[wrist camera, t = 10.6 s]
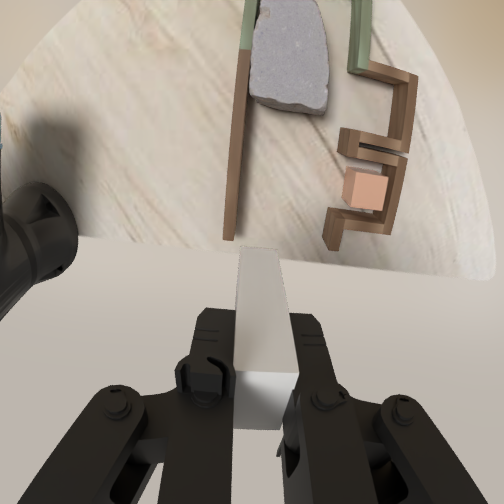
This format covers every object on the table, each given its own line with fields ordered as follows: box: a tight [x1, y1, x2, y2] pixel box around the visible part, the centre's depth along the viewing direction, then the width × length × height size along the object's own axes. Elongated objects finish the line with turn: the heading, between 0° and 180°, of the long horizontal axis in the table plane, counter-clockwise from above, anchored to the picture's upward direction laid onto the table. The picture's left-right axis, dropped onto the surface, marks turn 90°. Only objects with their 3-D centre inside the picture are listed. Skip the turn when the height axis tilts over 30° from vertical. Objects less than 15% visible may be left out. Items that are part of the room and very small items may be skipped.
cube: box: [342, 166, 388, 211], centre depth 33 cm, size 4×4×4 cm
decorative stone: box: [249, 0, 329, 115], centre depth 25 cm, size 15×7×10 cm
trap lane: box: [223, 0, 418, 251], centre depth 28 cm, size 20×33×4 cm, turn 174°
